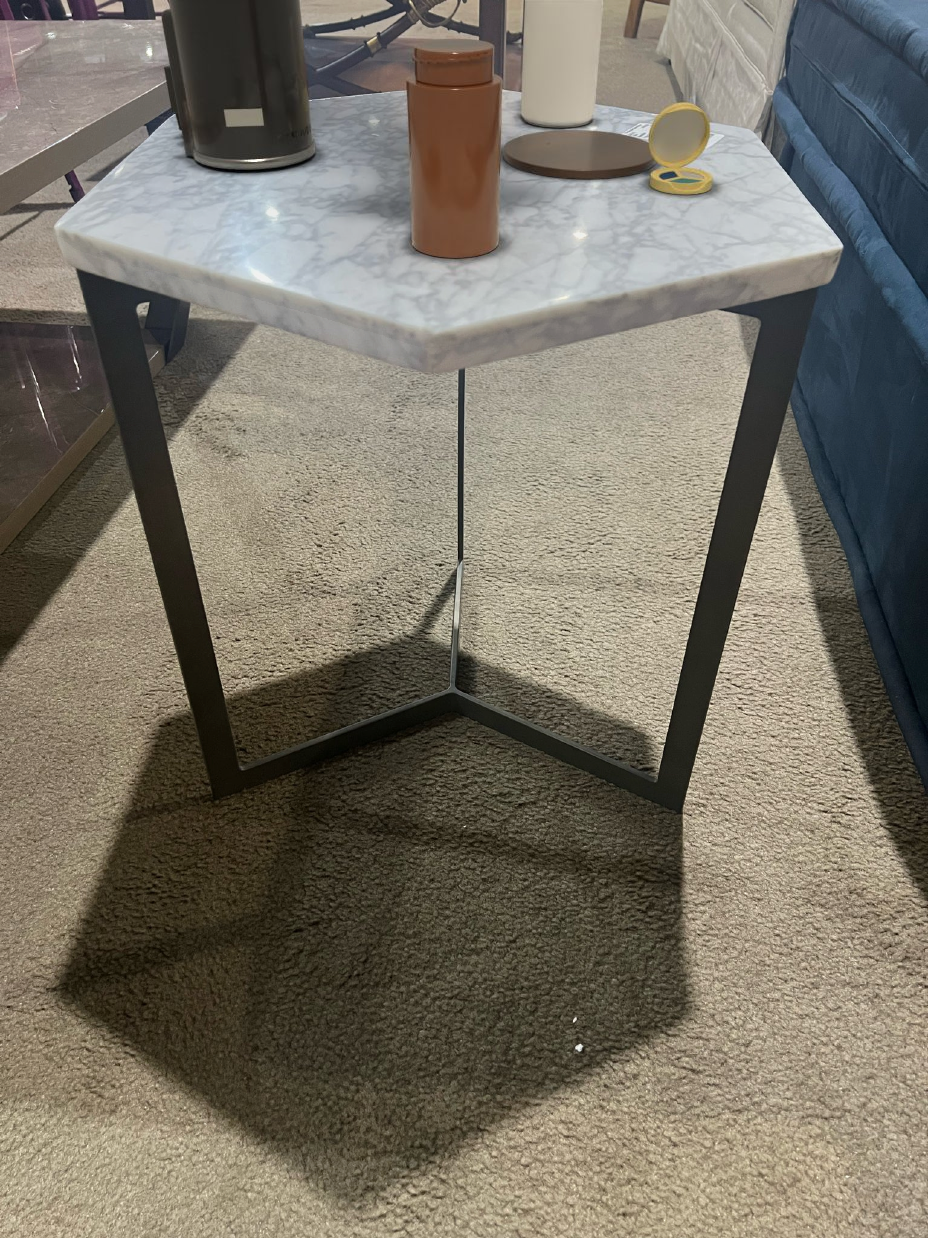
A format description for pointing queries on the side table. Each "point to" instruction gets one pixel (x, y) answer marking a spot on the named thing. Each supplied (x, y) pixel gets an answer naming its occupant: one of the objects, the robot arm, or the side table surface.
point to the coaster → (579, 154)
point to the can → (560, 61)
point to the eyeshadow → (679, 149)
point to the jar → (454, 147)
